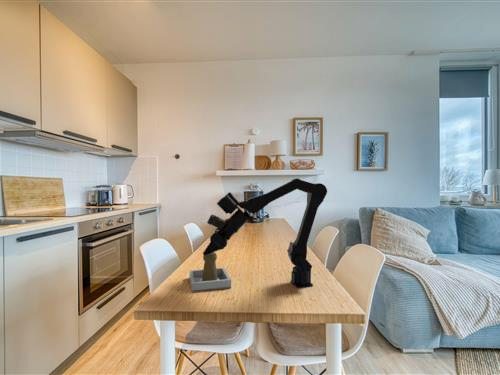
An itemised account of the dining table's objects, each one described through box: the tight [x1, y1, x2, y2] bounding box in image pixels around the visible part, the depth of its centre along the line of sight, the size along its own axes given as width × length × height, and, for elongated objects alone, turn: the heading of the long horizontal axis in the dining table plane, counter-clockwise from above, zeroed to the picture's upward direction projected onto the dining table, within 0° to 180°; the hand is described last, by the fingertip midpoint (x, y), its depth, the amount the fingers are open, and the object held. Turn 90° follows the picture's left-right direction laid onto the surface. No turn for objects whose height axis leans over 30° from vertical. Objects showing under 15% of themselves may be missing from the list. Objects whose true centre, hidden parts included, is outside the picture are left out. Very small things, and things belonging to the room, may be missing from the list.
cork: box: [202, 251, 218, 281], centre depth 95 cm, size 6×6×11 cm
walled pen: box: [189, 267, 232, 293], centre depth 95 cm, size 14×14×3 cm
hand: (205, 251), depth 95 cm, fingers open, 9 cm apart
